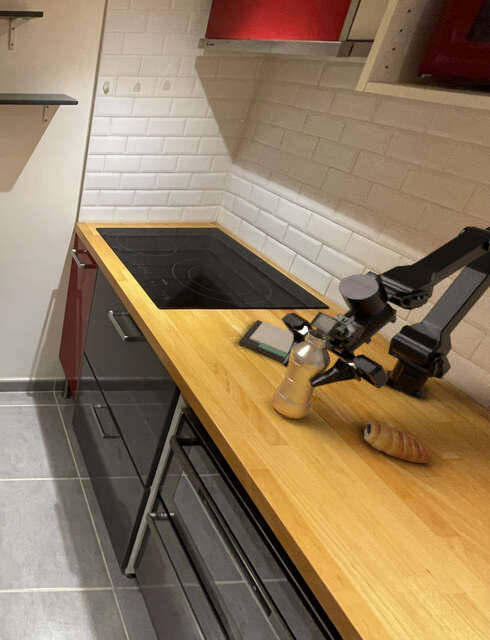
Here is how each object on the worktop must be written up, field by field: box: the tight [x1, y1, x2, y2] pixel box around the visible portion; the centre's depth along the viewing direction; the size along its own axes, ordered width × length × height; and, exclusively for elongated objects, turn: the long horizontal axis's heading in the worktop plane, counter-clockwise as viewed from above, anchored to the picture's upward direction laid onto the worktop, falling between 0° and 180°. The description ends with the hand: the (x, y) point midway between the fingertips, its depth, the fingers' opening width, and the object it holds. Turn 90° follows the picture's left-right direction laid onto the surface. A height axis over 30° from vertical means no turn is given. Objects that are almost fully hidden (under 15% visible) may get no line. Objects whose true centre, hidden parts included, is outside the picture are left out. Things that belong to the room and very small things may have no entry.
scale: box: [238, 319, 293, 364], centre depth 116 cm, size 14×14×2 cm
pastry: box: [363, 419, 431, 464], centre depth 86 cm, size 9×7×4 cm
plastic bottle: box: [271, 328, 331, 419], centre depth 91 cm, size 6×7×20 cm
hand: (297, 375), depth 91 cm, fingers closed on plastic bottle, 6 cm apart
